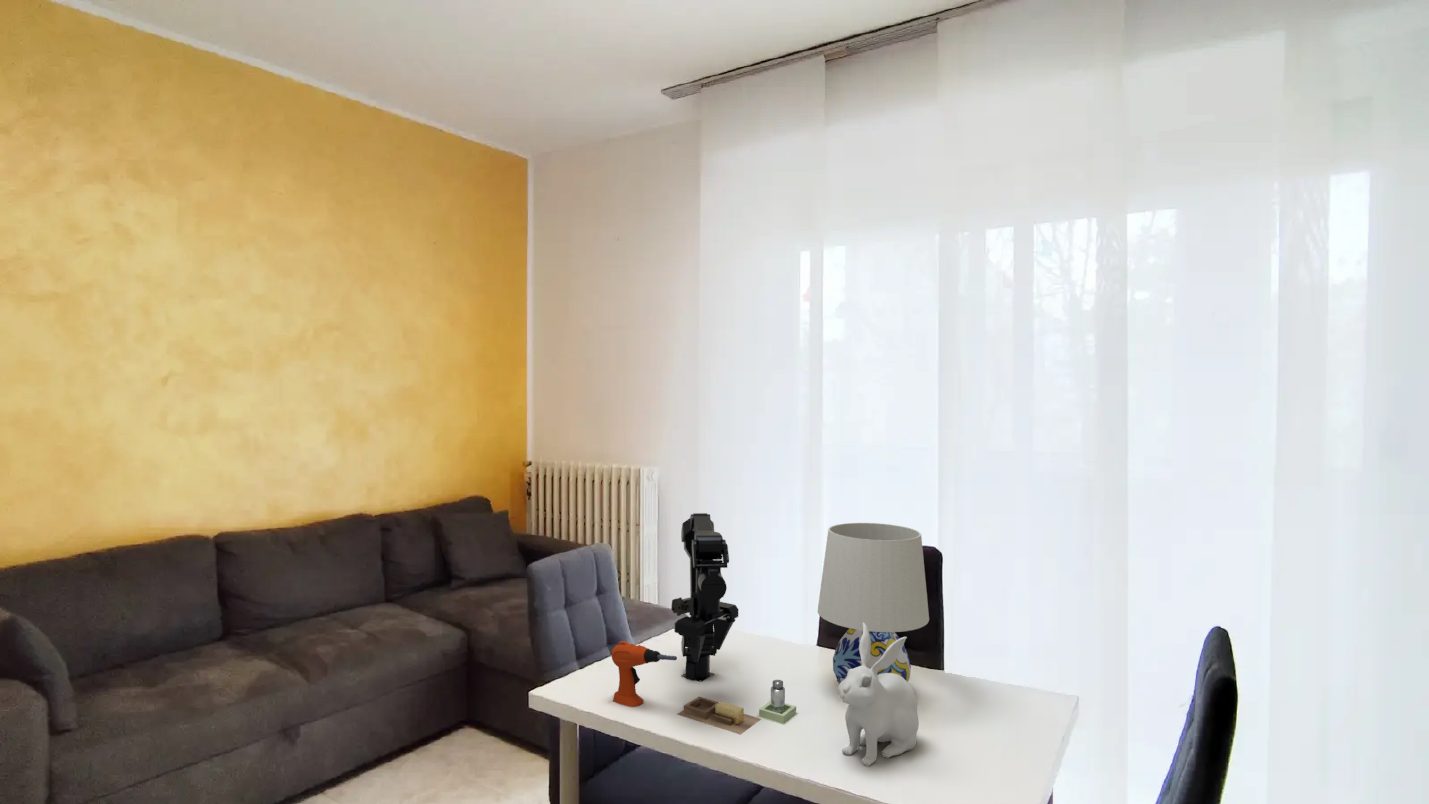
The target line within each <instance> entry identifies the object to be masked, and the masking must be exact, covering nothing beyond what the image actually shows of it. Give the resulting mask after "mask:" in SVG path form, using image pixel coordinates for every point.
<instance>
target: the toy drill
mask: <svg viewBox="0 0 1429 804" xmlns="http://www.w3.org/2000/svg"><path fill="white" fill-rule="evenodd" d="M610 653H611V659H612V662H613V663H614V665H615V666H616V667H618V674H619V677H618V678H619V683H618V688H617V689H618V690H617V691H615V692H614V693H613V694H614V695H613V698H612V702H614V703H616V704H619V705H621V706H624V707H630V708H636V707H640V706H641V705H643V704H644V702H645V700H644V699H643V697H641V696H639V694H637V691H636V685H637V684H638V683H639V681H641V678H640V677H639V676H638V673H637V670H636V669H635V667H637V666H638V667H639V666H642V665H646V664H649V663H658V662H659V661H660V660H661V661H662V660H666V661H676V660H677V659H678V657H677V656H676V655H666V654H663V653H662V654H661V653H660V652H659V651H658V650H653V649H650V648H647V647H646V646H645V645H641V644H638V645H636V644H634V643H629V642H627V641H625V640H622V641H619V642H618V644H617V645H615V646H614V647H613V648H612V650H611V652H610Z"/></svg>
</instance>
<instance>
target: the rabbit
mask: <svg viewBox="0 0 1429 804" xmlns="http://www.w3.org/2000/svg"><path fill="white" fill-rule="evenodd" d="M906 639H908V637H907V636H903V637H899V639H898V640H896V641H895V642H893V643H892V644H891V645H890V646H889V647H888V648H887V649H886V651H885V652H884V654H883V656H882V657H881V658H880V659H879V661H877V662H876V663H875V664H874V665H873V666H872V668H871V669H869V668H867V667H866V663H867V662H868V661H869V659H870V650H871V639H870V635H869V632H868V628H867V626H866V624H865V623H864V622H863V634H862V637H861V640H860V644H859V652H860V656H861V661H862V665H861V666H859V667H856V668H854V669H849V671H848V673H847V677H846V679H845V680H843V681H842V682H841V683H840V684H839V683H838V686H837V691H838V697H839V698H840V700H842V701H843V703H845V704H847V705H848V706H847V708H846V711H845V716H844V717H845V719H844V720H845V725H846V729H847V734H848V736H849V737H848V738H849V745H848V746H845V747H843V748H842V749H841V751H842V753H843V754H844V755H845V756H851V755H852V754H854V753H855V752H857V750H858V749H859V746H860V745H861V746H866V752H865V755H864V757H863V758H862V759H861V764H863V765H864V766H867V767H869V766H871V765H872V764H873V763H874V762H875V761H876V759H877V757H878V743H885V742H890V744H888V745H887V746H886V747H884V748H883V749H882V751H881V755H882V757H885V758H891V757H894V756H899V755H901V754H903V753H904V752H908V751H911V750H912V749H914V748H915V746H916V743H917V734H918V730H919V725H920V724H919V714H918V700H917V694H916V692H915V690H914V688H913V686H912V685H911V684H910V683H909V681H908V682H907V681H906V680H905V679H904V678H902V677H901V676H900V675H897V674H894V673H883V674H879V675H877V672H878V670H880V669H886V668H888V667H889V666H890V665H891V664H893V663H894V662H895V660H896V658H897V656H898V654H899V652H900V650H901V648H902V647H903V645H904V646H905V642H906ZM862 730H864V733H863V734H862V735H861V733H862Z"/></svg>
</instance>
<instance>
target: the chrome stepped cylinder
mask: <svg viewBox="0 0 1429 804" xmlns="http://www.w3.org/2000/svg"><path fill="white" fill-rule="evenodd" d="M785 694H786V689H785V686H784V681H783V680H782V679H774V680H772V686H771V687H770V701H771V711H773V712H777V713H780V714H783V713H784V712H785V703H786V699H785V698H786V695H785Z"/></svg>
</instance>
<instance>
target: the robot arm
mask: <svg viewBox="0 0 1429 804" xmlns="http://www.w3.org/2000/svg"><path fill="white" fill-rule="evenodd" d="M680 530H681V531H680V532H681V533H680V535H681V536H680V537H681V543H683V550H684V551H685V553H686V555H687V557H688V558H689V582H690V587H689V588H690V589H689V590H690V591H689V593H690V597H686V598H682V597H678V598H674V599H672V600H671V609H670V610H671V611H672V613H673V614H676V616H677V617H679V616H681V615H685V614H688V615H689V616H688V615H686V616H684V617H682V618H679V619H677V620H676V621H675V622H674V624H673V625H674V628H673V629H674V633H676V634H678V636H681V642H680V643H681V647H680V648H681V650H680V651H681V655H682V657H683V658H684V657H685V673H683V674H680V675H681V676H680V677H682V678H685V679H687V680H688V679H689V680H691V681H696V682H699V683H700V682H704V681H705V680H707V679H710V678H711V677H712V676H714V675H715V673H714V672H711V671H710V668H711V667H710V666H711V665H710V662H711V661H710V660H711V657H710V656H713V657H715V656H716V654H717V653H718V651H719V650H721V648H722V646H723V644H724V642H725V640H726V638H727V636H728V634H729V632H730V630H731V628H732V626H733V624H734V623H735V622H736V619H737V618H739V608H738V607H737V605H736V604H734V603H728V602H723V601H721V599H722V598H724V596H725V594H726V592H727V583H726V581H725V579H724V577H723V575H722V572H721V571H722V570H721V569H722V568H724V569H727V568H728V564H729V562H730V555H729V546H728V544H727V541H726V539H724V538H723V536H722V534H721V533H720V532H717V531H715V524H714V521H712V520H711V514H709V513H707V512H706V513H705V512H702V513H701V512H698V513H697V512H695V513H692V514H690V516H689V518H688V519H687V520H685V521H684V522H683V523H682V524H681V529H680Z"/></svg>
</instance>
